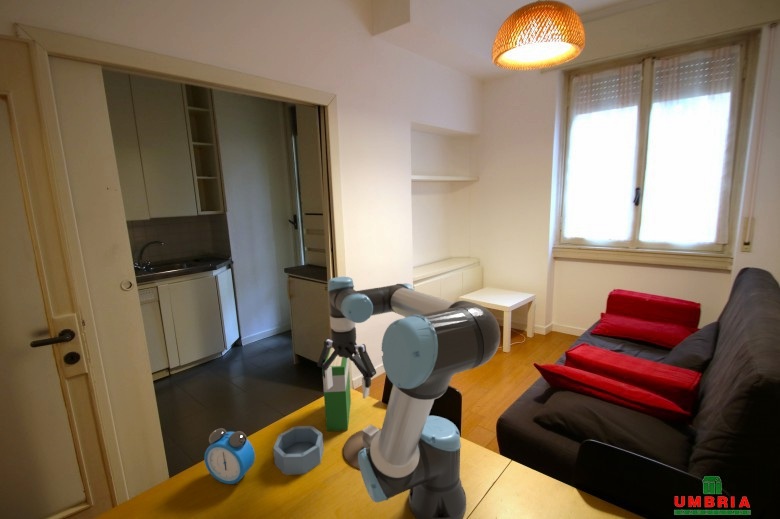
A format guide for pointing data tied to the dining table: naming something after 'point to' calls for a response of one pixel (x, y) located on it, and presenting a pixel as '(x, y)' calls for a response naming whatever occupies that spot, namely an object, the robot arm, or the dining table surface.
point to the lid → (359, 444)
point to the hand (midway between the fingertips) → (347, 391)
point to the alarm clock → (229, 456)
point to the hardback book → (337, 395)
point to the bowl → (298, 450)
